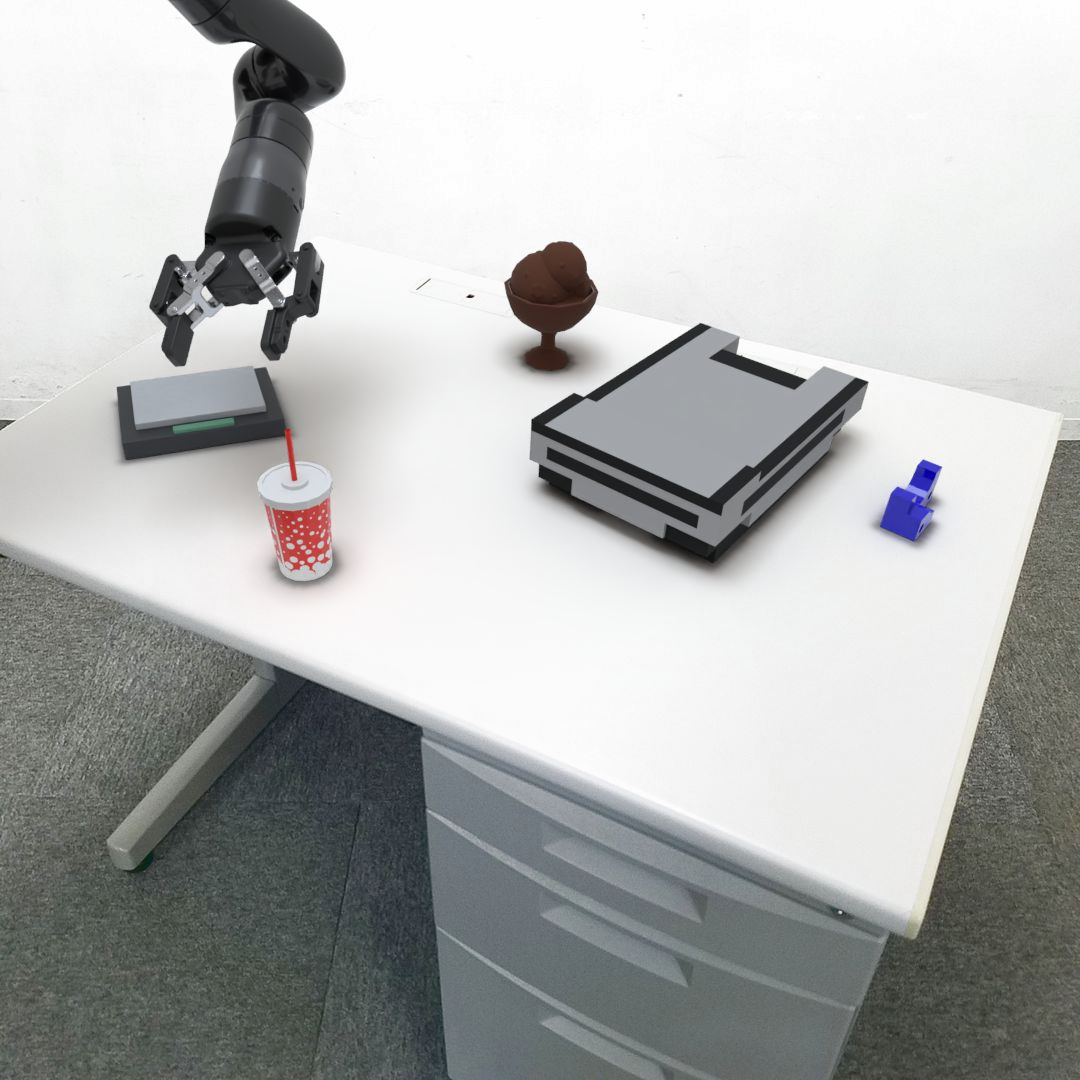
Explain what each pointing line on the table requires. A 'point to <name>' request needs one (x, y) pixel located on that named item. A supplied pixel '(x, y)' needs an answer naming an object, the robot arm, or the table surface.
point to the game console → (693, 439)
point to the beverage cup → (299, 515)
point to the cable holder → (912, 503)
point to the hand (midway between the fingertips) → (221, 358)
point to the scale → (198, 411)
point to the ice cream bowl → (551, 298)
